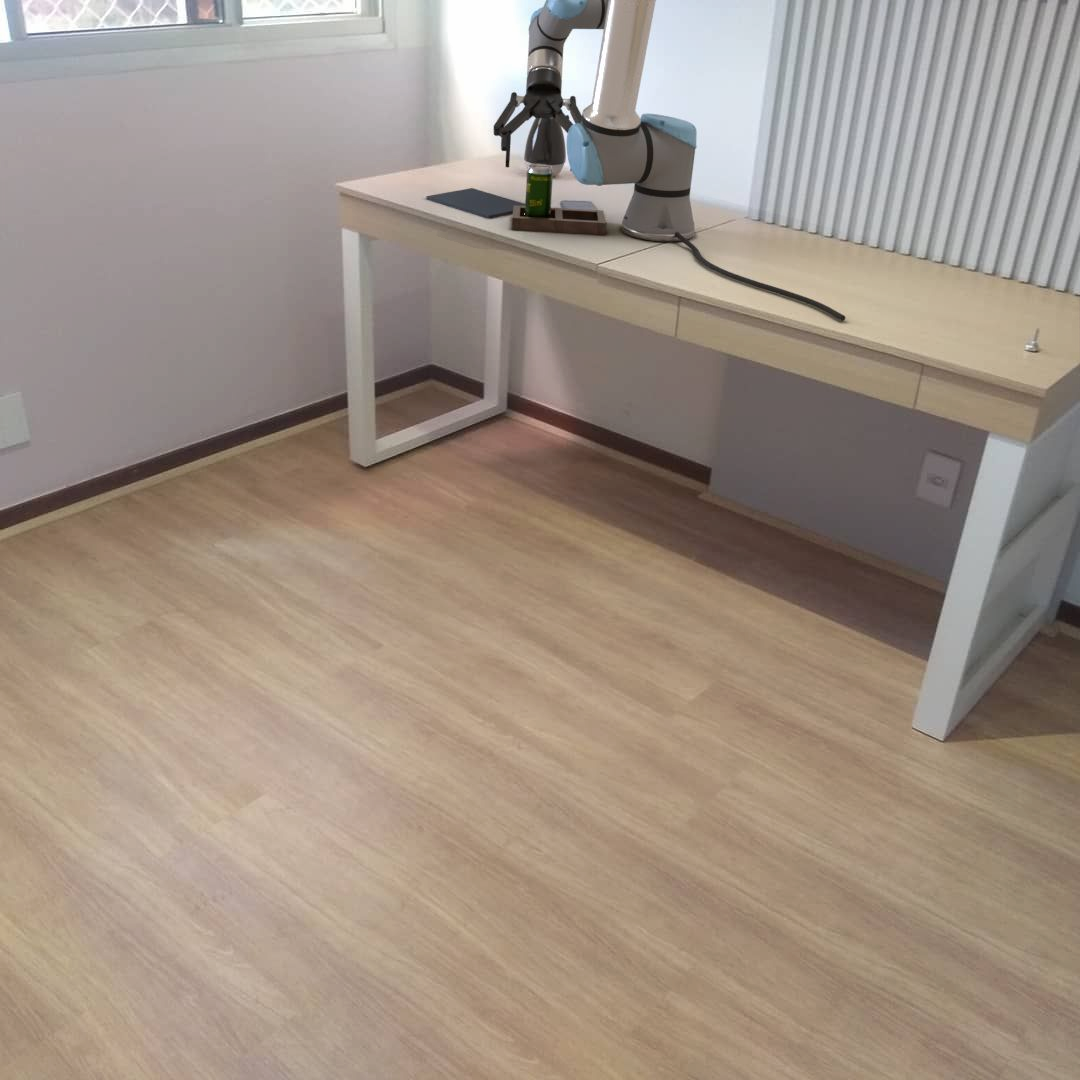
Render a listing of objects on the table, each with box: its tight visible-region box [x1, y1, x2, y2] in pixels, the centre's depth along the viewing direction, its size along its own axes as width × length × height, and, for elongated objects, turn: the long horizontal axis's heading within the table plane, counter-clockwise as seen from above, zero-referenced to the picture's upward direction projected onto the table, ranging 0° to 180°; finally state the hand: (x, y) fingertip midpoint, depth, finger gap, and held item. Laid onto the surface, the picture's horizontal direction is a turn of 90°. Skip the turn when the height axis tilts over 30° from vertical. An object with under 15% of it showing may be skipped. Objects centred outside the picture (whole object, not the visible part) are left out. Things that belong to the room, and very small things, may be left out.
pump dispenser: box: [523, 114, 570, 178], centre depth 281 cm, size 10×10×15 cm
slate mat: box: [425, 187, 525, 219], centre depth 257 cm, size 20×14×1 cm
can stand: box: [511, 205, 607, 236], centre depth 244 cm, size 19×10×2 cm, turn 90°
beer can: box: [524, 164, 554, 218], centre depth 242 cm, size 5×5×12 cm
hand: (539, 165), depth 242 cm, fingers open, 13 cm apart
